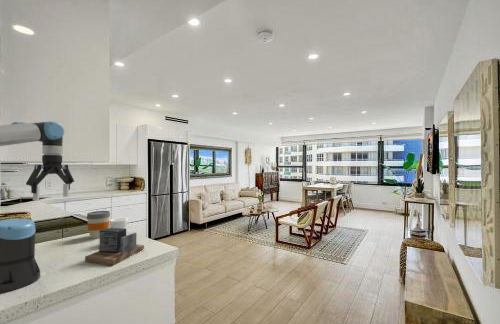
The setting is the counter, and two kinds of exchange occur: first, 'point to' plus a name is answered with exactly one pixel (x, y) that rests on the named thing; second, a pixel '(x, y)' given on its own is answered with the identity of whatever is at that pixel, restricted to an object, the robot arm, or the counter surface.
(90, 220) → the reusable coffee cup
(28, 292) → the counter surface
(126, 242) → the wooden base with plate
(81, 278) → the counter surface
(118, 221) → the foam cup
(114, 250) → the small box
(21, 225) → the robot arm
